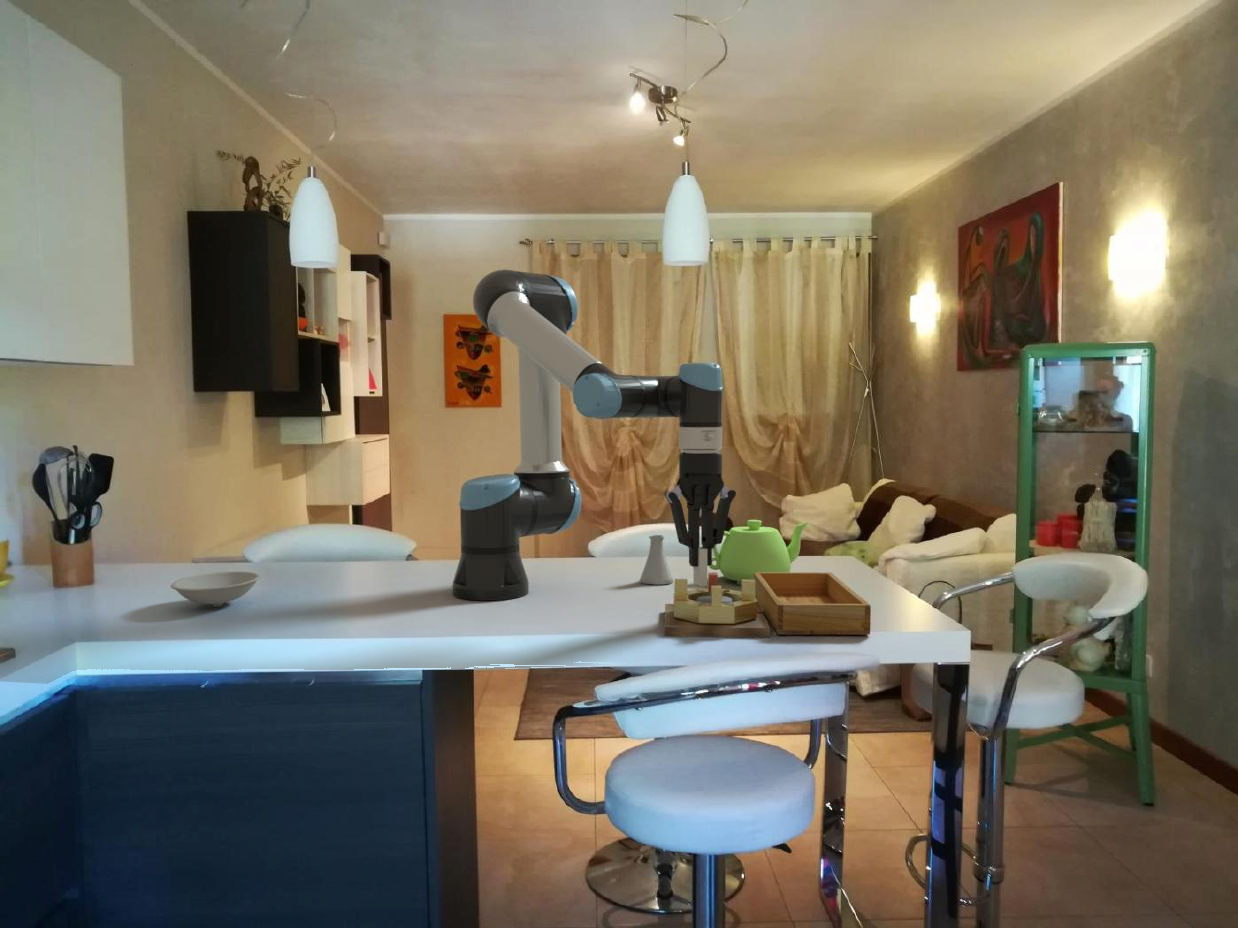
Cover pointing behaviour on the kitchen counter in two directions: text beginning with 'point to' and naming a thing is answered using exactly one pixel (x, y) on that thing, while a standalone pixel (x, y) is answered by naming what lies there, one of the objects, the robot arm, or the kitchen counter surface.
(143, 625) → the kitchen counter surface
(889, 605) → the kitchen counter surface
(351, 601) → the kitchen counter surface
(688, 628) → the walnut base
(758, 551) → the teapot
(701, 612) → the ring nut
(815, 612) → the tray
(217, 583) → the dish
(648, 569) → the flask
